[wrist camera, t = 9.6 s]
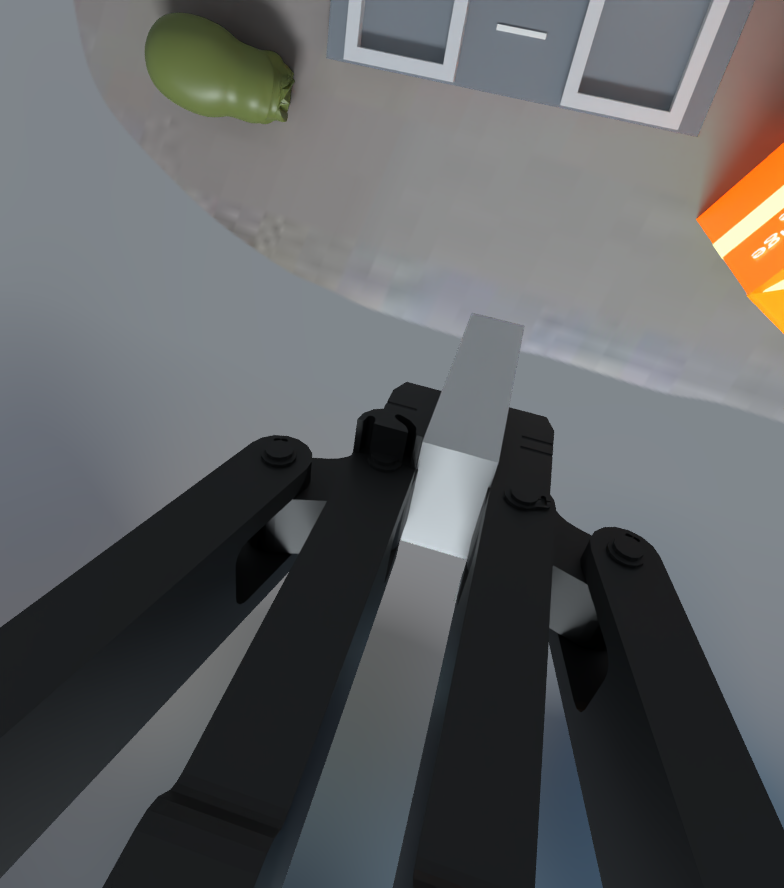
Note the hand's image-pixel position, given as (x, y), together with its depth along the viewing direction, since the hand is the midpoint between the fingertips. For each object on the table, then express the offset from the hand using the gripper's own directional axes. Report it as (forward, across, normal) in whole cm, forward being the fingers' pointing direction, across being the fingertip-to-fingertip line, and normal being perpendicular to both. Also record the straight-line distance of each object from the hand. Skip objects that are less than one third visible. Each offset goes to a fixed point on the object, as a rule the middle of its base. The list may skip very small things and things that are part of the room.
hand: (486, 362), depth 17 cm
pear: (+30, -22, +2) cm, 37 cm away
